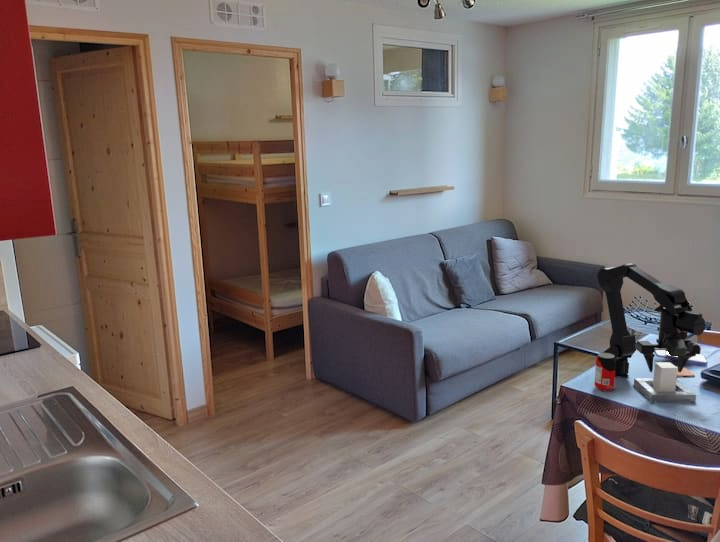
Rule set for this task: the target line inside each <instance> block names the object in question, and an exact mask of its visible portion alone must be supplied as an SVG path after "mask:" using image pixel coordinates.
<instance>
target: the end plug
mask: <svg viewBox="0 0 720 542" xmlns="http://www.w3.org/2000/svg"><path fill="white" fill-rule="evenodd" d="M676 366H677V365H674V364H673V363H672V362H665V361H664V362H660V361H659V362H654V366H653V369H654V370H653V377H652V378H653V389H654V390H655V391H656V392H675V389H676V379H677V367H676Z"/></svg>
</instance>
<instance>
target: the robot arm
mask: <svg viewBox="0 0 720 542" xmlns="http://www.w3.org/2000/svg"><path fill="white" fill-rule="evenodd" d="M596 278H597V282H598V283H599V287H600V288H601V289H602V290H603V292H604V293H605V298H606V302H607V308H608V315H609V319H610V321H609V322H610V324H611V325H610V326H611V330H612V331H611V332H612V333H611V335H610V339H609V347H607V348H606V349H605V350H604V351H602V353H610V354H613V355H614V356H615V357H614V358H615V360H616V371H615V378H629V377H630V376H629V370H630V369H629V368H630V362H629V359H630V358H632V357H633V355H634V353H635V352H636V351H638V353H640V354H642V355H643V357H644V359H645V362H646V364H647V367H648V371H649V372H650V373H653V371H654V370H653V369H654V358H655V357H656V355H655V354H654V353H655V351H666V350H668V352H669V354H670V355H671V356H678V358H677V366H678V372H681V371H682V369H683V367H684V368H685V365H687V362H688V361H689V359H691V358H692V357H696V356H697V355H700V354H701V350H702V348H701V345H700V344H698V343H696V342H694V341H693V340H692V339H687V340H682V339H681V332H679V330H680V331H684V332H687V334H690V335H694V336H701V335H702V334H703V333H704V331H705V330H706V326H707V323H706V320H705V318H703V314H702V313H701V312H700V313H699V312H693V308H692V307H691V304H690V303H689V301H688V300H687V297H686V292H685V291H684V290H682V289H681V288H678V287H676V286H674V285H671V284H666V283H663V282H662V281H660V280H658V279H657V278H656V277H653V276H652V275H651V274H649V273H648V272H646V271H645V270H643V269H641V268H639V266H637V265H636V264H635V263H631V262H630V263H625V264H622V265H620V266H612V267H603V268H600V269H599V270H598V272H597V273H596ZM624 278H627V279H629V280H631V281H632V282H633V283H635V284H637V285H638V286H640V287H641V288H643V289H644V290H645V291H647V292H648V293H650V294H651V295H652V296H653V299H654V300H655V302H656V303H658V304H659V306H657V307H655V308H654V311H655V312H658V313H660V316H659V326H658V327H657V330H656V331H658V338H656V343H654V344H653V343H652V342H650V341H649V340H636V335H635V334H631V333H630V332H629V331H628V325H627V321H626V315H625V310H624V304H623V299H622V293H621V290H622V288H623V284H624Z"/></svg>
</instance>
